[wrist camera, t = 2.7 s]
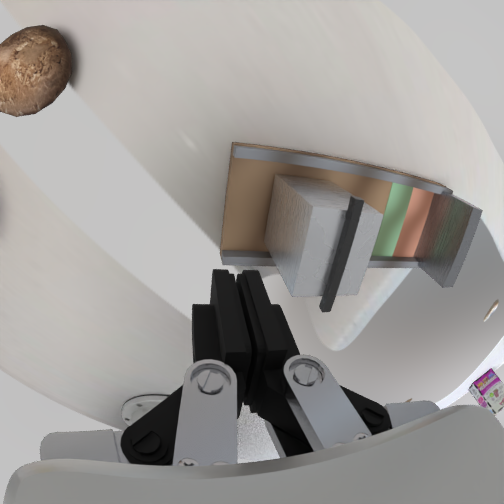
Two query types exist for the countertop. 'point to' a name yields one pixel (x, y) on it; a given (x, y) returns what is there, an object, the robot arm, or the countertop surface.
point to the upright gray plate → (446, 237)
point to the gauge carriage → (320, 237)
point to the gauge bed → (330, 169)
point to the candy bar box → (489, 392)
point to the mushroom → (33, 70)
